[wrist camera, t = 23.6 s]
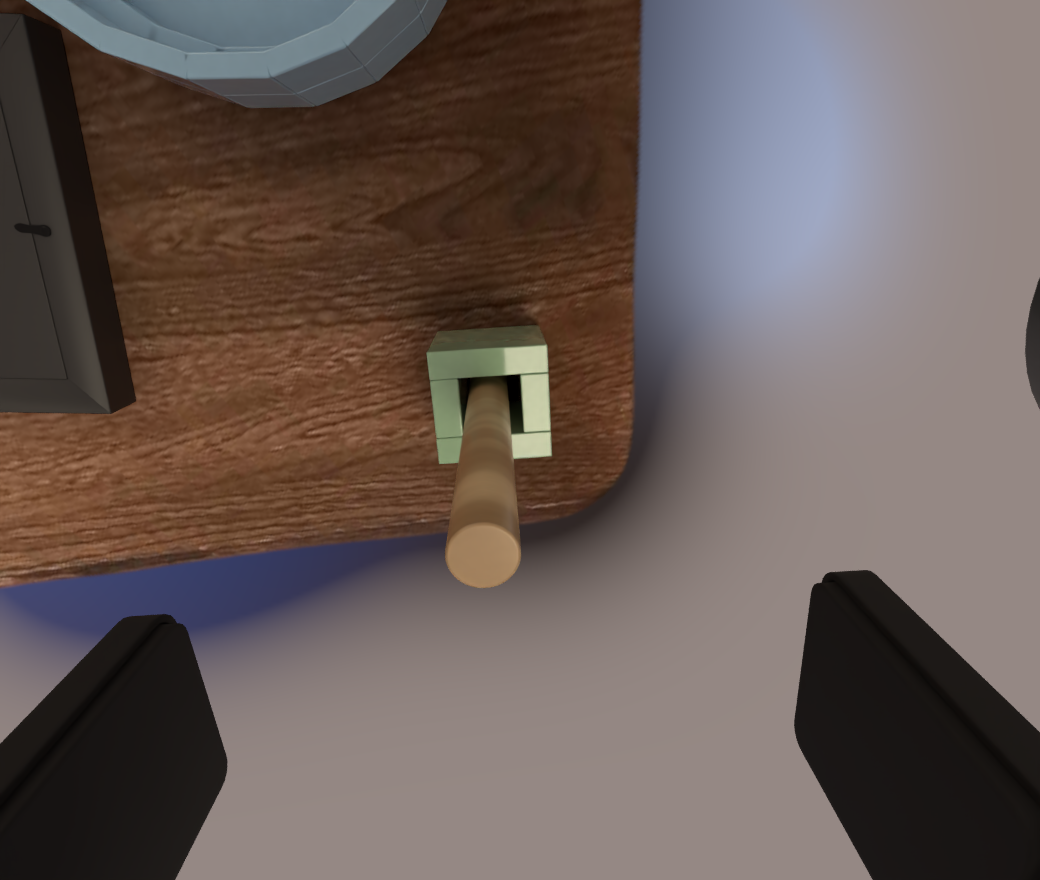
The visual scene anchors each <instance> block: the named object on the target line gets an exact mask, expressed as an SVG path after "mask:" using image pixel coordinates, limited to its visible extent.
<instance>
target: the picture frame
mask: <svg viewBox="0 0 1040 880" xmlns="http://www.w3.org/2000/svg"><path fill="white" fill-rule="evenodd" d="M135 401H136V399H135V394H134V390H133V385H132V380H131V375H130V370H129V365H128V360H127V355H126V350H125V345H124V341H123V336H122V331H121V326H120V321H119V316H118V311H117V306H116V301H115V296H114V291H113V287H112V282H111V277H110V272H109V267H108V262H107V257H106V252H105V247H104V242H103V237H102V233H101V228H100V223H99V218H98V213H97V208H96V203H95V198H94V193H93V188H92V184H91V179H90V174H89V169H88V164H87V159H86V154H85V149H84V144H83V139H82V134H81V130H80V125H79V120H78V115H77V110H76V105H75V100H74V95H73V90H72V85H71V81H70V76H69V71H68V66H67V61H66V56H65V51H64V46H63V41H62V36H61V31H60V30H58V29H56V28H54V27H52V26H49V25H47V24H45V23H42V22H40V21H38V20H36V19H33V18H31V17H29V16H27V15H24V14H13V13H0V412H23V413H91V414H112V413H114V412H116V411H118V410H120V409H122V408H124V407H126V406H128V405H130V404H132V403H133V402H135Z"/></svg>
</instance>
